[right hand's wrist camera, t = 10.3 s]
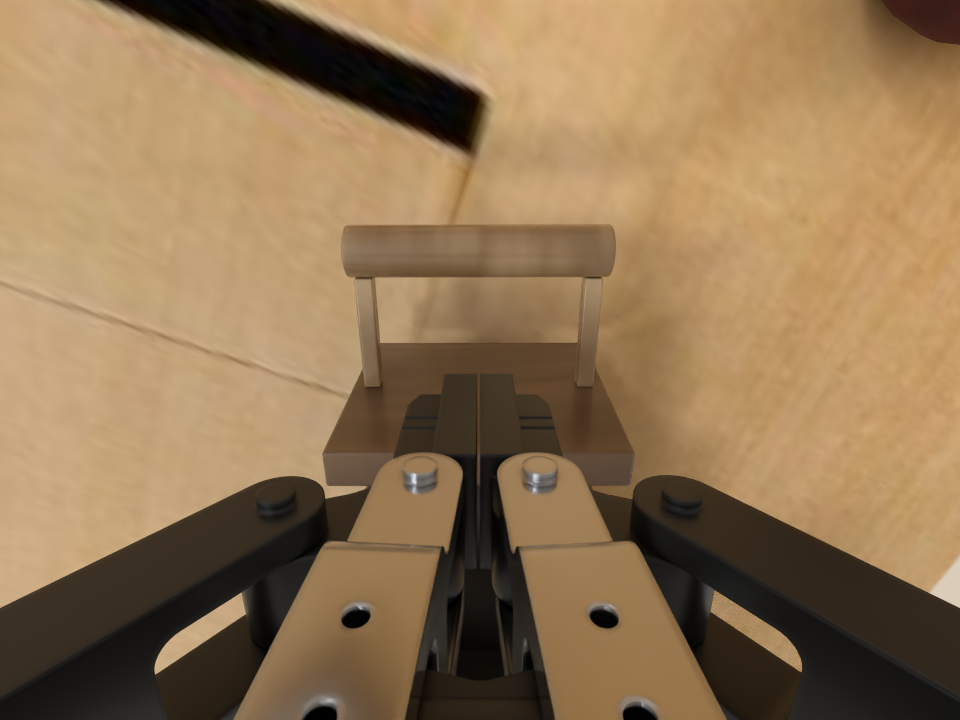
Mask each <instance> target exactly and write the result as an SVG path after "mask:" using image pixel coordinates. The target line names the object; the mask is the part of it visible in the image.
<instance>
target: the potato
mask: <svg viewBox="0 0 960 720" xmlns="http://www.w3.org/2000/svg"><path fill="white" fill-rule="evenodd" d="M883 2H884V4H885V6H886V7H887V8H888V9H889V11H890V12H891V13H892V14H893V15H894V16H895V17H897V18H898V19H899V20H901V21H902V22H904V23H905V24H906V25H908V26H909V27H911V28H912V29H913V30H915V31H916V32H918V33H919V34H921V35H922V36H925V37H927V38H929V39H932V40H934V41H937V42H943V43H951V44H959V45H960V0H883Z"/></svg>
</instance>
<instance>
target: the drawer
mask: <svg viewBox="0 0 960 720" xmlns="http://www.w3.org/2000/svg"><path fill="white" fill-rule="evenodd" d="M615 251H616V241H615V233H614V229H613V227H612V226H611V225H347V226H345V227H344V229H343V233H342V239H341V255H342V263H343V267H344V270H345V273H346V275H347V276H348V277H356V278H355V280H354V282H355V292H356V302H357V313H358V323H359V333H360V343H361V353H362V364H363V369H362V371H361V373H360V376H359V378H358V380H357V382H356V384H355V386H354V388H353V390H352V392H351V395H350V397H349V399H348V401H347V403H346V405H345V407H344V409H343V411H342V413H341V416H340V418H339V420H338V422H337V424H336V426H335V428H334V430H333V432H332V435H331V437H330V439H329V441H328V443H327V445H326V447H325V449H324V451H323V454H322V455H323V462H324V469H325V476H326V483H327V485H328V486H367V487H366V489H367V488H369V487H371V486H372V485H373V483H374V481H375V478H376V476H377V474H378V472H379V470H380V469H381V468H382V467H383V465H385V464H386V463H387V462H389V461H390V460H392V459H393V456H394V453H395V449H396V446H397V442H398V439H399V435H400V431H401V429H402V424H403V421H404V419H405V414H406V410H407V407H408V404H410V403H411V402H412V401H413V400H414V399H416V398H417V397H418V396H419V395H420V394H441V393H442V387H443V380H444V374H445V373H477V549H476V569H465V573H464V615H463V623H462V630H461V638H460V646H459V653H458V661H457V669H456V676H457V677H462V678H466V679H470V680H475V681H485V680H490V679H494V678H498V677H503V676H504V669H503V661H502V653H501V646H500V638H499V630H498V623H497V615H496V593H495V591H494V588H493V585H492V569H480V373H512V374H513V380H514V387H515V394H537V395H538V396H539V397H540V398H541V399H543V400H544V401H545V402H546V403H547V404H549V407H550V411H551V414H552V419H553V422H554V425H555V429H556V433H557V436H558V440H559V444H560V447H561V451H562V455H563V458H566V459H568V460H570V461H571V462H573V463H574V464H575V465H577V467H578V468H579V469H580V470H581V472H582V474H583V476H584V478H585V481H586V483H587V485H588V487H589V489H591V490H593V489H592V486H591V485H630V484H631V477H632V470H633V462H634V455H635V453H634V451H633V449H632V446H631V444H630V442H629V440H628V438H627V436H626V433H625V431H624V429H623V427H622V425H621V423H620V420H619V418H618V416H617V414H616V412H615V410H614V407H613V405H612V403H611V401H610V399H609V397H608V395H607V392H606V390H605V388H604V386H603V384H602V382H601V379H600V377H599V375H598V373H597V371H596V369H595V361H596V350H597V339H598V328H599V317H600V306H601V295H602V284H603V279H602V277H608V276H610V274H611V272H612V270H613V266H614V261H615ZM375 277H582V289H581V303H580V316H579V329H578V342H577V343H380V335H379V323H378V311H377V299H376V287H375Z"/></svg>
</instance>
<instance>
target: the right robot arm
mask: <svg viewBox="0 0 960 720" xmlns="http://www.w3.org/2000/svg"><path fill="white" fill-rule="evenodd" d="M476 549H477V373H445V374H444V380H443V387H442V393H441V394H420V395H419V396H418V397H417V398H416V399H414V400H413V401H412V402H411V403H410V404H408V407H407V410H406V414H405V419H404V421H403V424H402V429H401V431H400V435H399V439H398V442H397V446H396V449H395V453H394V456H393V459H392V460H390V461H389V462H387V463H386V464H385V465H383V467H382V468H381V469H380V470H379V472H378V474H377V476H376V478H375V481H374V483H373V485H372V486H371V487H369V488H367V489H364V490H362V491H359V492H356V493H352V494H348V495H343V496H338V497H333V498H328V499H325V493H324V490H323V488H322V487H321V485H320V484H319V483H317V482H316V481H314V480H311V479H308V478H305V477H298V476H287V477H278V478H272V479H268V480H265V481H262V482H259V483H256V484H254V485H252V486H250V487H248V488H246V489H244V490H242V491H239V492H237V493H235V494H233V495H231V496H229V497H227V498H225V499H223V500H221V501H219V502H217V503H215V504H213V505H211V506H209V507H207V508H205V509H203V510H201V511H198V512H196V513H194V514H192V515H190V516H188V517H186V518H184V519H182V520H180V521H178V522H176V523H174V524H172V525H170V526H168V527H166V528H164V529H162V530H159V531H157V532H155V533H153V534H151V535H149V536H147V537H145V538H143V539H141V540H139V541H137V542H135V543H133V544H131V545H129V546H127V547H125V548H123V549H120V550H118V551H116V552H114V553H112V554H110V555H108V556H106V557H104V558H102V559H100V560H98V561H96V562H94V563H92V564H90V565H88V566H86V567H84V568H82V569H79V570H77V571H75V572H73V573H71V574H69V575H67V576H65V577H63V578H61V579H59V580H57V581H55V582H53V583H51V584H49V585H47V586H45V587H43V588H40V589H38V590H36V591H34V592H32V593H30V594H28V595H26V596H24V597H22V598H20V599H18V600H16V601H14V602H12V603H10V604H8V605H6V606H4V607H1V608H0V720H960V608H958V607H956V606H954V605H952V604H950V603H948V602H946V601H944V600H942V599H940V598H938V597H936V596H934V595H932V594H930V593H928V592H926V591H924V590H922V589H919V588H917V587H915V586H913V585H911V584H909V583H907V582H905V581H903V580H901V579H899V578H897V577H895V576H893V575H891V574H889V573H887V572H885V571H883V570H881V569H878V568H876V567H874V566H872V565H870V564H868V563H866V562H864V561H862V560H860V559H858V558H856V557H854V556H852V555H850V554H848V553H846V552H844V551H842V550H839V549H837V548H835V547H833V546H831V545H829V544H827V543H825V542H823V541H821V540H819V539H817V538H815V537H813V536H811V535H809V534H807V533H805V532H803V531H801V530H798V529H796V528H794V527H792V526H790V525H788V524H786V523H784V522H782V521H780V520H778V519H776V518H774V517H772V516H770V515H768V514H766V513H764V512H762V511H759V510H757V509H755V508H753V507H751V506H749V505H747V504H745V503H743V502H741V501H739V500H737V499H735V498H733V497H731V496H729V495H727V494H725V493H723V492H720V491H718V490H716V489H714V488H712V487H710V486H708V485H706V484H704V483H701V482H699V481H696V480H693V479H690V478H686V477H680V476H672V475H660V476H653V477H649V478H646V479H644V480H642V481H641V482H639V483H638V484H637V485H636V487H635V489H634V492H633V500H632V499H627V498H622V497H617V496H612V495H607V494H603V493H600V492H597V491H594V490H591V489H589V487H588V485H587V483H586V481H585V478H584V476H583V474H582V472H581V470H580V469H579V468H578V467H577V465H575V464H574V463H573V462H571V461H570V460H568V459H566V458H563V455H562V451H561V447H560V444H559V440H558V436H557V433H556V429H555V425H554V422H553V419H552V414H551V411H550V407H549V404H547V403H546V402H545V401H544V400H543V399H541V398H540V397H539V396H538V395H537V394H515V387H514V380H513V374H512V373H480V569H492V585H493V588H494V591H495V593H496V615H497V623H498V630H499V638H500V646H501V653H502V661H503V669H504V676H503V677H498V678H494V679H490V680H485V681H475V680H470V679H466V678H462V677H457V676H456V669H457V661H458V653H459V646H460V638H461V630H462V623H463V615H464V573H465V569H476ZM714 590H716V591H717V592H719V593H720V594H722V595H724V596H725V597H727V598H728V599H730V600H731V601H733V602H735V603H736V604H738V605H739V606H741V607H742V608H744V609H746V610H747V611H749V612H750V613H752V614H753V615H755V616H757V617H758V618H760V619H761V620H763V621H765V622H766V623H768V624H769V625H771V626H772V627H774V628H776V629H777V630H778V631H780V632H781V633H782V634H784V635H785V636H786V637H787V638H788V639H789V640H790V641H791V642H792V644H793V645H794V646H795V648H796V650H797V651H798V653H799V655H800V658H801V661H802V673H801V672H800V671H798V670H796V669H795V668H793V667H792V666H790V665H789V664H787V663H786V662H784V661H783V660H782V659H780V658H779V657H777V656H776V655H774V654H773V653H771V652H770V651H768V650H767V649H765V648H764V647H762V646H761V645H759V644H758V643H756V642H755V641H753V640H752V639H750V638H749V637H747V636H746V635H744V634H743V633H741V632H740V631H738V630H737V629H735V628H734V627H732V626H731V625H729V624H728V623H726V622H725V621H723V620H722V619H720V618H719V617H717V616H716V615H714V614H713V613H711V612H710V610H711V605H712V600H713V595H714ZM241 592H242V597H243V602H244V607H245V612H246V615H244V616H243V617H241V618H240V619H238V620H237V621H235V622H234V623H232V624H231V625H229V626H228V627H226V628H225V629H223V630H222V631H220V632H219V633H217V634H216V635H214V636H213V637H211V638H210V639H208V640H207V641H205V642H204V643H202V644H201V645H199V646H198V647H196V648H195V649H193V650H192V651H190V652H189V653H187V654H186V655H184V656H183V657H181V658H180V659H178V660H177V661H175V662H174V663H173V664H171V665H170V666H168V667H167V668H165V669H164V670H162V671H161V672H159V673H157V674H156V675H155V672H154V667H155V662H156V659H157V657H158V655H159V653H160V651H161V649H162V648H163V647H164V645H165V644H166V643H167V642H168V641H169V640H170V639H171V638H172V637H173V636H174V635H176V634H177V633H178V632H180V631H181V630H183V629H184V628H186V627H188V626H189V625H191V624H192V623H194V622H195V621H197V620H199V619H200V618H202V617H203V616H205V615H207V614H208V613H210V612H211V611H213V610H214V609H216V608H218V607H219V606H221V605H222V604H224V603H225V602H227V601H229V600H230V599H232V598H233V597H235V596H236V595H238V594H240V593H241Z"/></svg>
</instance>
